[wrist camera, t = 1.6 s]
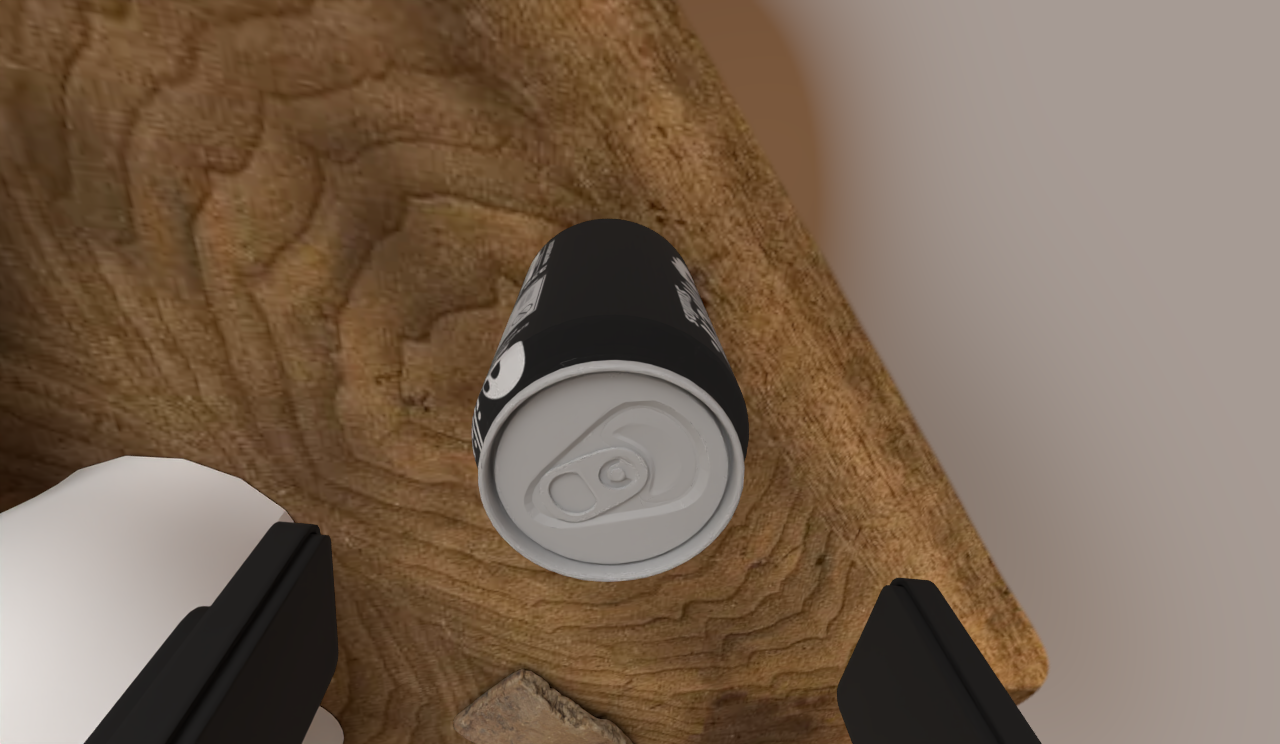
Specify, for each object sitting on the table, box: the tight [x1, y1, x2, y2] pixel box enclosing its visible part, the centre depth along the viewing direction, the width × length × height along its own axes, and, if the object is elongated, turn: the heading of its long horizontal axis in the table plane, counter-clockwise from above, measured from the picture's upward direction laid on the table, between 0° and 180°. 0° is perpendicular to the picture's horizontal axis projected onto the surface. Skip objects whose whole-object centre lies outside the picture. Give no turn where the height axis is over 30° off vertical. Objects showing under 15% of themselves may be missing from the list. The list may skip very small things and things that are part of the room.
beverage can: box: [472, 219, 749, 582], centre depth 18 cm, size 7×7×12 cm
